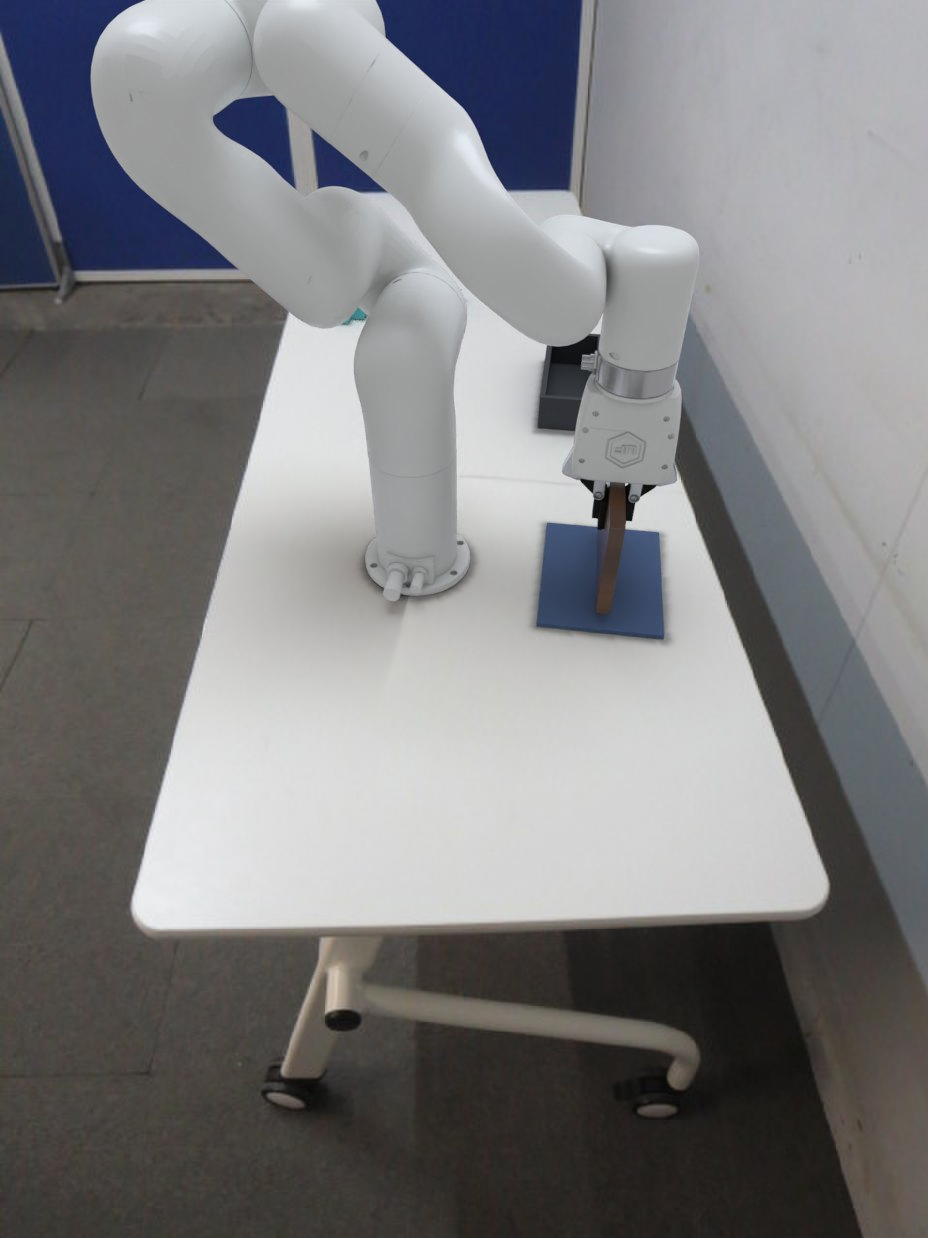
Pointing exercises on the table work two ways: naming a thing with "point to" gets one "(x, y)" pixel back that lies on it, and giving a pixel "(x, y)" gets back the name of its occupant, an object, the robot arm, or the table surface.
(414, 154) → the robot arm
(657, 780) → the table surface
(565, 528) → the mat
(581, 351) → the bin
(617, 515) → the board
